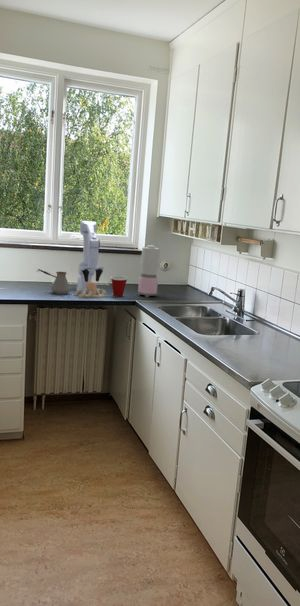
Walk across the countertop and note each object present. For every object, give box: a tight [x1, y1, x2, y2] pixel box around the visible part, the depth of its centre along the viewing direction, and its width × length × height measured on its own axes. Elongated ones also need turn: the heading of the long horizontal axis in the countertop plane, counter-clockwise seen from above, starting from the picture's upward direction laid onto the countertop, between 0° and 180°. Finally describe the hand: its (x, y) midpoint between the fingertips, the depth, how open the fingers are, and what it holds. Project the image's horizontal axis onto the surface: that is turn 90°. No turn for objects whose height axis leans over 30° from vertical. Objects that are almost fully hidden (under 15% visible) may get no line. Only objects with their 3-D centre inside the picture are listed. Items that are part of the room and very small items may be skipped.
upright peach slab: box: [86, 281, 98, 295], centre depth 310 cm, size 8×2×7 cm, turn 38°
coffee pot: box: [37, 268, 71, 295], centre depth 307 cm, size 21×12×15 cm, turn 124°
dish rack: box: [74, 288, 108, 299], centre depth 311 cm, size 11×17×4 cm, turn 128°
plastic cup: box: [110, 275, 128, 298], centre depth 316 cm, size 11×11×12 cm
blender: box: [137, 244, 160, 298], centre depth 326 cm, size 16×12×32 cm
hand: (91, 281), depth 309 cm, fingers open, 7 cm apart
